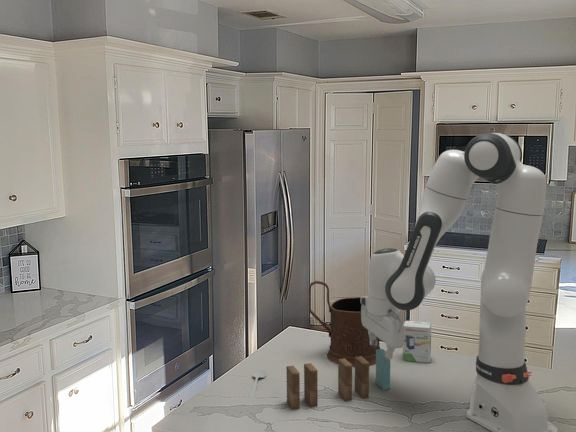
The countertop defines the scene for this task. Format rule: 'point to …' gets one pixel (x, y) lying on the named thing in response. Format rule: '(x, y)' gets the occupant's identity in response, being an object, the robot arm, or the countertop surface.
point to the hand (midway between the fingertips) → (380, 351)
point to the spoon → (257, 372)
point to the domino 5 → (382, 369)
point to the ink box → (417, 341)
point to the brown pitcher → (347, 330)
